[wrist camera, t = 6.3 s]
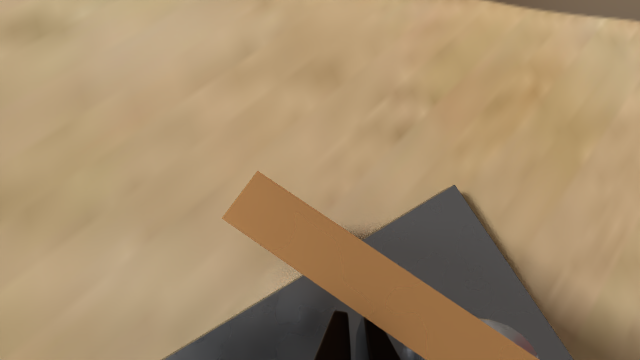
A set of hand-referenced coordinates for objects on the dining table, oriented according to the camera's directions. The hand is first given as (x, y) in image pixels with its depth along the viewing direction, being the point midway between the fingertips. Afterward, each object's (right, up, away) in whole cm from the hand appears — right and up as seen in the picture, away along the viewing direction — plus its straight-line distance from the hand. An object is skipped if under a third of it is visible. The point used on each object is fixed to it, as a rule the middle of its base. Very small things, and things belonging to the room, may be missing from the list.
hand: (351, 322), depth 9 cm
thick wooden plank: (+2, -2, +6) cm, 6 cm away
